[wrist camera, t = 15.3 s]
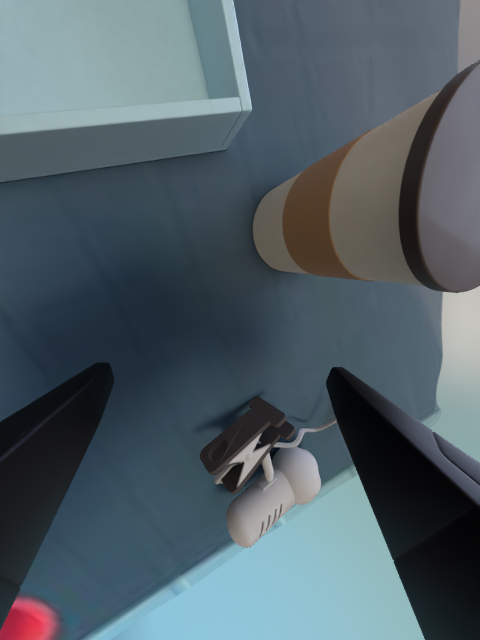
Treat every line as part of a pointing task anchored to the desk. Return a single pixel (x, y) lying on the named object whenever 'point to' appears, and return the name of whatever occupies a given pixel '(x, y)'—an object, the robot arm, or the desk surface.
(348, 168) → the cup
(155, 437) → the desk surface
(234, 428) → the clip-on lamp
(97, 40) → the tub
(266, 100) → the desk surface
